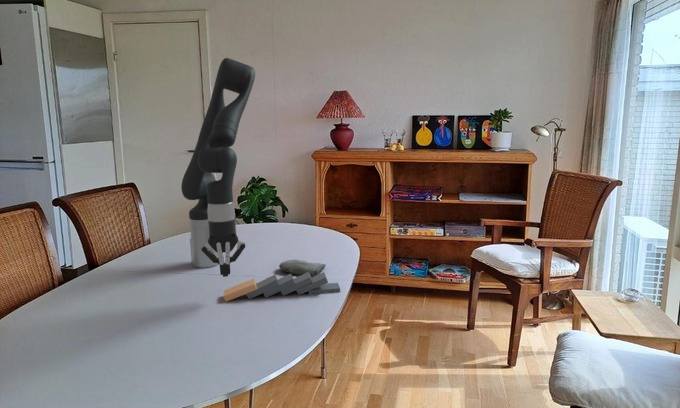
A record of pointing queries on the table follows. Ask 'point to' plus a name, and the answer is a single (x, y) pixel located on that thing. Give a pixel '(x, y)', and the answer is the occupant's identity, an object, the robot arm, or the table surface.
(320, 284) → the domino
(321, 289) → the domino
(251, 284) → the domino
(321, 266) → the stone
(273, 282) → the domino
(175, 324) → the table surface
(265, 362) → the table surface
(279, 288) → the domino
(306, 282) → the domino
